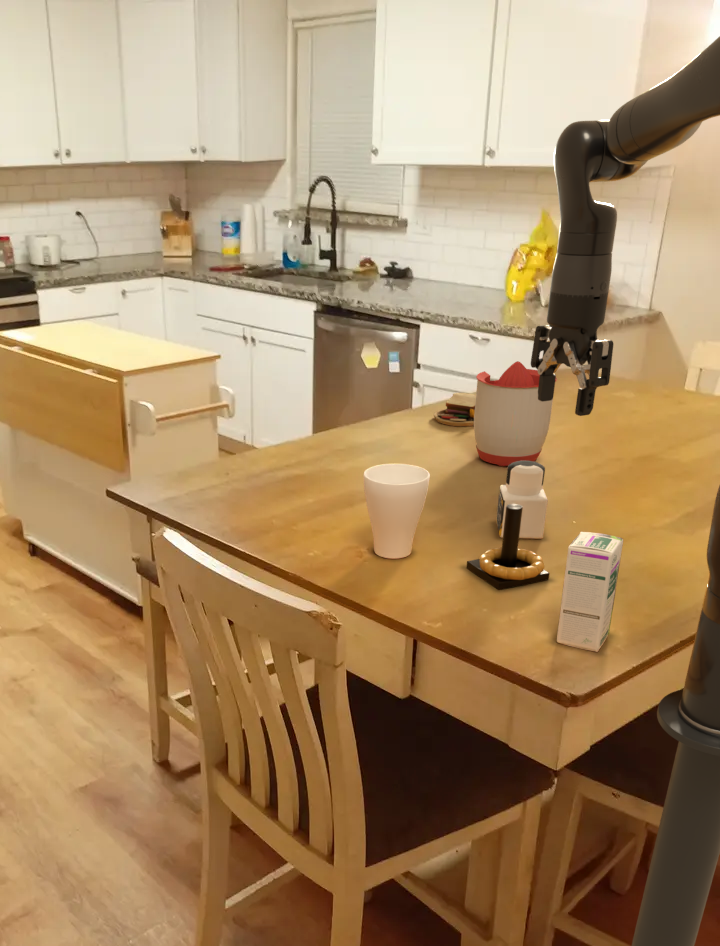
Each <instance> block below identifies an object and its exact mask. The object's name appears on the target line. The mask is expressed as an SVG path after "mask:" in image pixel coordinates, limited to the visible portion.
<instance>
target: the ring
mask: <svg viewBox="0 0 720 946" xmlns="http://www.w3.org/2000/svg"><path fill="white" fill-rule="evenodd" d="M501 549H502V546H501V547H496V548H491V549H488V550H486V551H485V552H484V553H482V554H481V555H480V556H479V558H478V559H479V561H480V567H481V569H482V570H484V571H485V572H487V573H488V574H490V575H491V576H495V577H499V578H503V579H511V580H523V579H528V578H533V577H536V576H537V575H538V574H540V573H541V572H542V571H543V570H545V563H544V560H543V558H542V557H541V556H540V555H539V554H537V553H535V552H534V551H532V550H528V549H525V548H520V547H518V551H517V560H521V561H525V562H527V563H529V564H530V566H528V567H523V568H509V567H504V566H500V565H496V564H495V563H493V562H492V561H494V560H499V559H501Z"/></svg>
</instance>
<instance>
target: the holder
mask: <svg viewBox="0 0 720 946" xmlns="http://www.w3.org/2000/svg"><path fill="white" fill-rule="evenodd" d="M522 509H523V507H522V506H521V505H519V504H508V505H507V506H506V513H505V522H504V531H503V538H502V541H501V547H502V549H501V559H499V560H494V561H492V562H493V563H495V564H496V565H500V566H504V567H509V568H523V567H528V566H530V564H529V563H527V562H525V561H521V560H517V551H518V548H519V541H520V538H519V534H520V526H521V517H522ZM465 568H466V569H467V570H469V571H470V572H472V573H473V574H475V575H476V576H477V577H479V578H480V579H481V580H483V581H484V582H486V583H488V584H489V585H491V586H492V587H493V588H495V589H496V590H498V591H501V590H506V589H511V588H515V587H521V586H526V585H530V584H536V583H540V582H545V581H549V580H550V579H549V578H550V572H549V571H547V570H546V569H544V570H543V571H542V572H541V573H540V574H538V575H537V576H536V577H533V578H528V579H523V580H511V579H503V578H499V577H495V576H491V575H490V574H488V573H487V572H485V571H484V570H482V569H481V567H480V561H479V558H476V559H471V560H467V561H466V567H465Z"/></svg>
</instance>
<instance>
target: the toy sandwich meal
mask: <svg viewBox="0 0 720 946" xmlns="http://www.w3.org/2000/svg"><path fill="white" fill-rule="evenodd" d="M475 402H476V394H474V393H467V392H454V393H452V396H450V398H449V399H448V400H447V401H446V402H445V407H446V408H443V409H439V410H437V411H435V412H434V413H433V418H434V419H435V420H436V421H437V422H438V423H440V424H443V425H447V426H453V427H474V414H475Z"/></svg>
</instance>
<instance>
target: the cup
mask: <svg viewBox="0 0 720 946" xmlns="http://www.w3.org/2000/svg"><path fill="white" fill-rule="evenodd" d="M430 478H431V473H430V472H429V471H428V470H427V469H426V468H424V467H421V466H418V465H415V464H408V463H394V462H393V463H383V464H376V465H373V466H370V467H368V468H366V469H365V470H364V472H363V491H364V497H365V504H366V509H367V513H368V516H369V520H370V526H371V531H372V536H373V550H374V551H373V552H374V553H375V554H376V555H377V556H379V557H381V558H384V559H389V560H391V559H393V560H399V559H404V558H407V557H408V556H410V555H411V554H412V549H413V542H414V537H415V534H416V531H417V527H418V524H419V521H420V519H421V515H422V513H423V511H424V507H425V504H426V503H425V502H426V500H427V499H426V498H427V495H428V491H429V485H430Z"/></svg>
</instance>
